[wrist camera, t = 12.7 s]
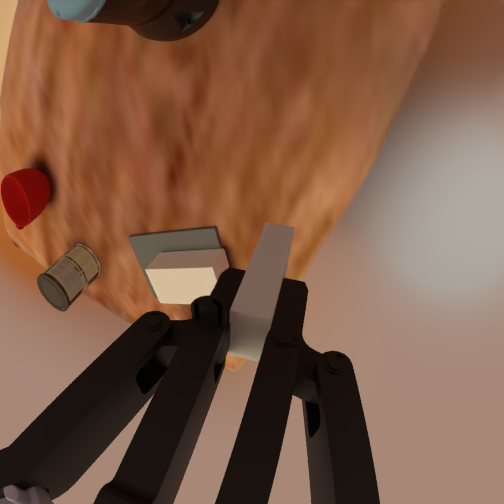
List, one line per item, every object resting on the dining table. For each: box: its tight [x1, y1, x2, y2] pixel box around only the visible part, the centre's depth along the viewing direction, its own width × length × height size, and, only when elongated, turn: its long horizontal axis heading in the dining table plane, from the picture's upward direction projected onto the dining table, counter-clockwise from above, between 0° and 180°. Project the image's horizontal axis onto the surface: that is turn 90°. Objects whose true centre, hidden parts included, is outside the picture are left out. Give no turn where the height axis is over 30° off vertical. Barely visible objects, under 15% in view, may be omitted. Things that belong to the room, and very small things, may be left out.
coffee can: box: [37, 244, 101, 311], centre depth 62 cm, size 10×10×14 cm
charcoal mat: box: [128, 226, 222, 298], centre depth 59 cm, size 20×16×1 cm
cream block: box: [145, 248, 229, 304], centre depth 55 cm, size 6×8×14 cm
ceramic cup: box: [1, 169, 51, 230], centre depth 55 cm, size 13×17×10 cm
